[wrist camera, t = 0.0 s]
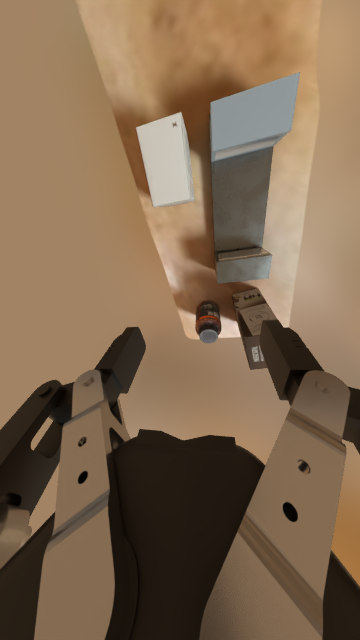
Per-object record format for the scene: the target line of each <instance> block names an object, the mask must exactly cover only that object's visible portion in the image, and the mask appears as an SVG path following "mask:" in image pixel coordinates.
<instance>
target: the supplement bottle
mask: <svg viewBox="0 0 360 640" xmlns="http://www.w3.org/2000/svg"><path fill="white" fill-rule="evenodd" d="M195 328H196V332H197V334H198V335H199V337H200V340H201V341H203V342H204V343H213V342H215V341H216V340H217V339H218V335H219V334H220V332H221V321H220V314H219V308H218V306H217V304H216V303H214V302H212V301H204V302H202V303H200V304H199V305H198V307H197V312H196V327H195Z"/></svg>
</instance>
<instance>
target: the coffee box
mask: <svg viewBox="0 0 360 640" xmlns="http://www.w3.org/2000/svg"><path fill="white" fill-rule="evenodd" d="M232 297H233V303H234V308H235V314H236V318H237V323H238V327H239V331H240V334H241V338H242V342H243V345H244V349H245V352H246V356H247V360H248V363H249V367H250V369H251V370H252V369H262V368H268V367H267V365H266V362H265V360H264V357H263V354H262V352H261V349H260V344H259V339H260V332H261V326H262V321H263V320H274V319H277V318H276V317H275V315H274V313H273V312H272V310H271V308H270V307H269V305H268V304H267V302H266V300H265V299H264V297H263V296H262V294H261V292H260V291H259V289H253V290H249V291H245V292H241V293H236V294H233V295H232Z"/></svg>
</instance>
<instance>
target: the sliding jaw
mask: <svg viewBox="0 0 360 640" xmlns="http://www.w3.org/2000/svg"><path fill="white" fill-rule="evenodd" d="M299 75H300V72H299V73H296V74H293V75H290V76H287V77H284V78H281V79H278V80H275V81H272V82H269V83H266V84H263V85H260V86H257V87H254V88H251V89H248V90H245V91H242V92H239V93H236V94H234V95H231V96H228V97H225V98H222V99H219V100H216V101H213V102H211V106H210V144H211V162H214V161H218V160H222V159H226V158H229V157H233V156H237V155H241V154H245V153H249V152H253V151H256V150H260V149H264V148H268V147H272V146H274V145H275V144H276V143H277V142H279V141H280V140H281V139H282V138H283V137H284V136H285V135H286V134H287V133H289V132H290V131H291V129H292V122H293V115H294V109H295V102H296V95H297V89H298V82H299Z"/></svg>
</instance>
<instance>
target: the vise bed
mask: <svg viewBox="0 0 360 640" xmlns="http://www.w3.org/2000/svg"><path fill="white" fill-rule="evenodd" d="M209 132H210V114H209ZM272 154H273V146H272V147H268V148H264V149H260V150H256V151H253V152H249V153H245V154H241V155H237V156H233V157H229V158H226V159H222V160H218V161H214V162H211V178H212V201H213V224H214V248H215V270H216V277H217V284H220V283H229V282H239V281H248V280H258V279H267V278H269V274H270V267H271V260H272V255H271V254H270V253H269V252H267V251H266V250H264V249H263V248H262V243H263V234H264V225H265V216H266V207H267V198H268V189H269V180H270V171H271V163H272ZM210 155H211V144H210Z"/></svg>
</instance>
